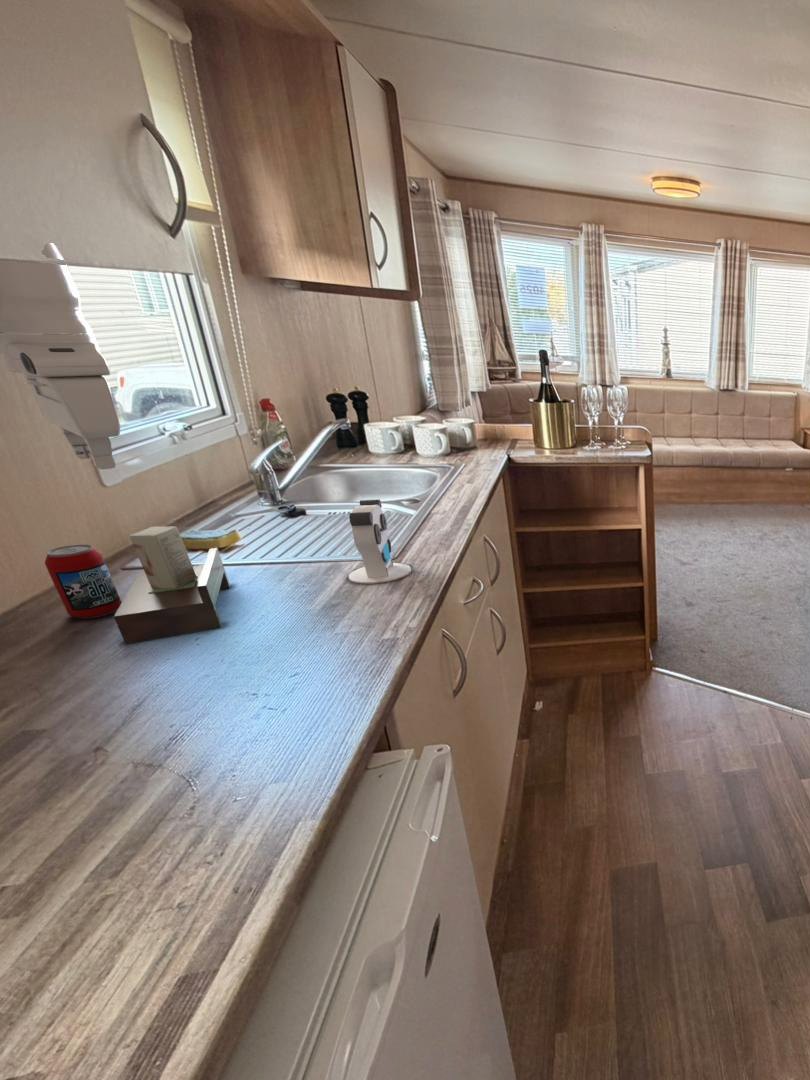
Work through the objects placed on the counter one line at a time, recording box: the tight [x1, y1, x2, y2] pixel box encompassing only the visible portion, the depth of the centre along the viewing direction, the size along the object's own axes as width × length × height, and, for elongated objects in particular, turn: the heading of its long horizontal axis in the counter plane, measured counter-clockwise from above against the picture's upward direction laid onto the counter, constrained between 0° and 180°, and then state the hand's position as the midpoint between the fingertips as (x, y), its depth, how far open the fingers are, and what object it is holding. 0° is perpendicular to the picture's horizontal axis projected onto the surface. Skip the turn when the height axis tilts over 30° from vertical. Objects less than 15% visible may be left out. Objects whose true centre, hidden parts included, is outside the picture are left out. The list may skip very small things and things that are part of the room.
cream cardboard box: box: [128, 525, 197, 589], centre depth 112 cm, size 5×4×10 cm
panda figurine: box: [348, 499, 412, 585], centre depth 132 cm, size 12×11×15 cm
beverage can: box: [44, 544, 122, 619], centre depth 111 cm, size 7×7×12 cm
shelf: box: [113, 547, 231, 645], centre depth 114 cm, size 12×22×8 cm, turn 36°
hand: (96, 462), depth 88 cm, fingers open, 8 cm apart
